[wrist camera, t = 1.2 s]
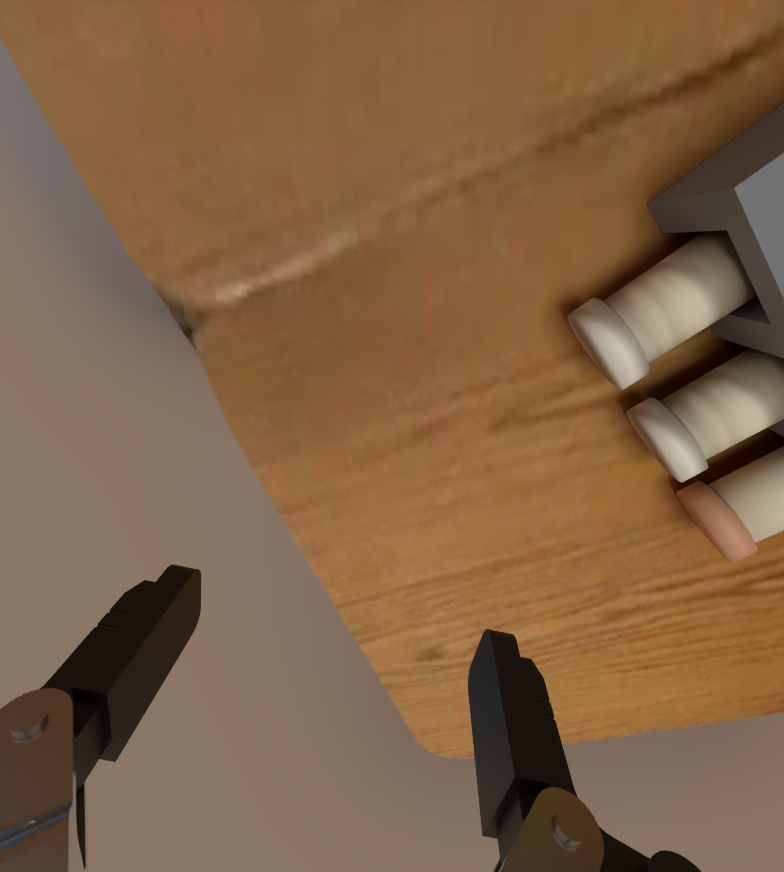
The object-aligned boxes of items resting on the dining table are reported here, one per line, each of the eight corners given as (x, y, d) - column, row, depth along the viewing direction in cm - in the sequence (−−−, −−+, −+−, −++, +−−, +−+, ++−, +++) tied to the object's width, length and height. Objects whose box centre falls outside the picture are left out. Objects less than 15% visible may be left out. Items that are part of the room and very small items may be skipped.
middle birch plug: (746, 320, 31) (819, 338, 25) (778, 387, 33) (854, 418, 27) (615, 399, 34) (654, 431, 28) (652, 456, 36) (695, 498, 30)
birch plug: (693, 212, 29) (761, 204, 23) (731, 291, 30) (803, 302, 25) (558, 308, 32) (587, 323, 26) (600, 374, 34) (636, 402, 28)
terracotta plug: (790, 412, 34) (867, 447, 28) (818, 470, 35) (896, 514, 30) (665, 478, 37) (710, 522, 31) (697, 528, 39) (745, 579, 33)
